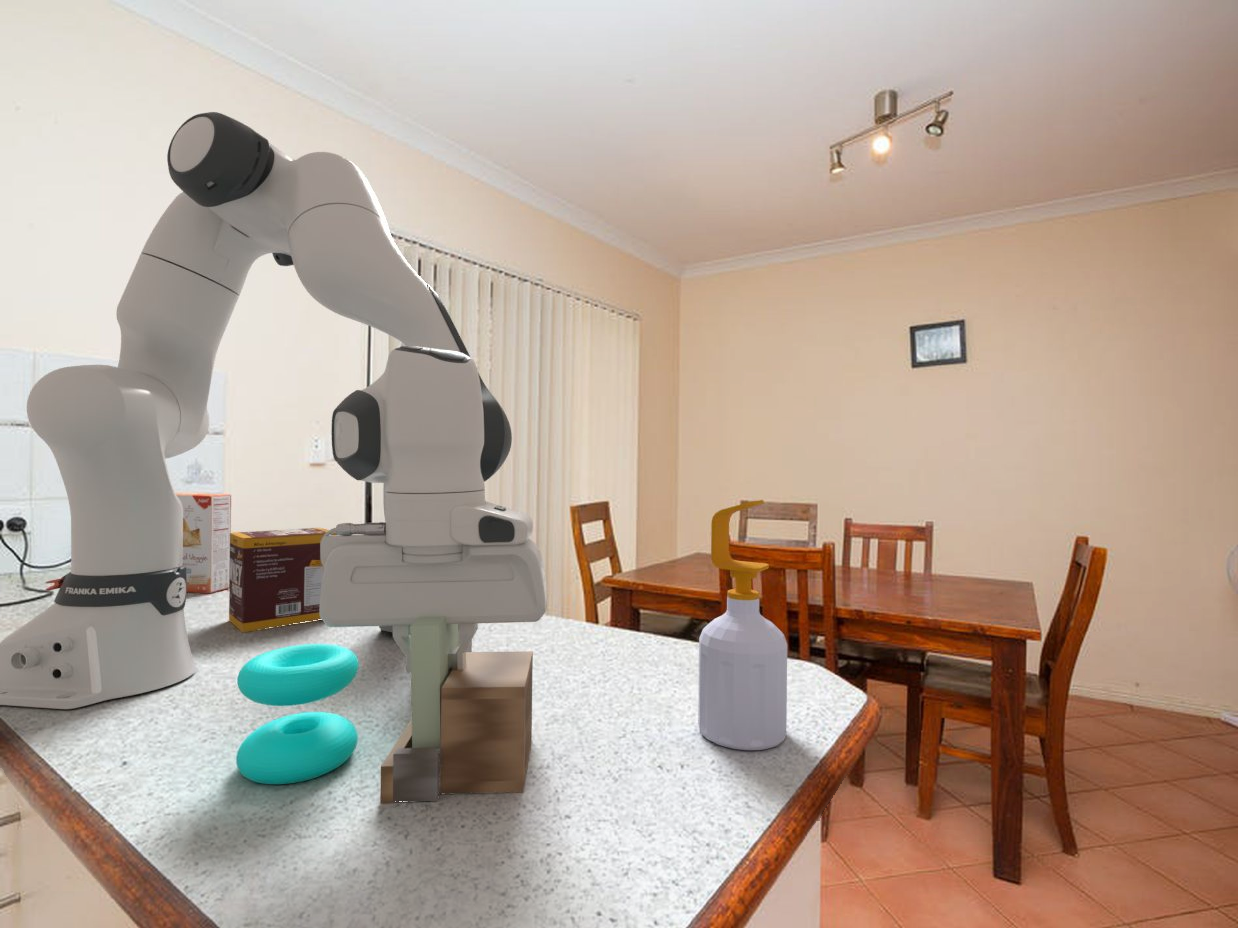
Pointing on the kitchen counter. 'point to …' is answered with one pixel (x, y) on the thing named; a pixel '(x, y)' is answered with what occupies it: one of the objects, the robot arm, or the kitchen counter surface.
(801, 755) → the kitchen counter surface
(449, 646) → the pale green flat block
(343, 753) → the donuts
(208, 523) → the cracker box
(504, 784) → the cabinet
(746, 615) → the soap bottle
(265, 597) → the supplement box
